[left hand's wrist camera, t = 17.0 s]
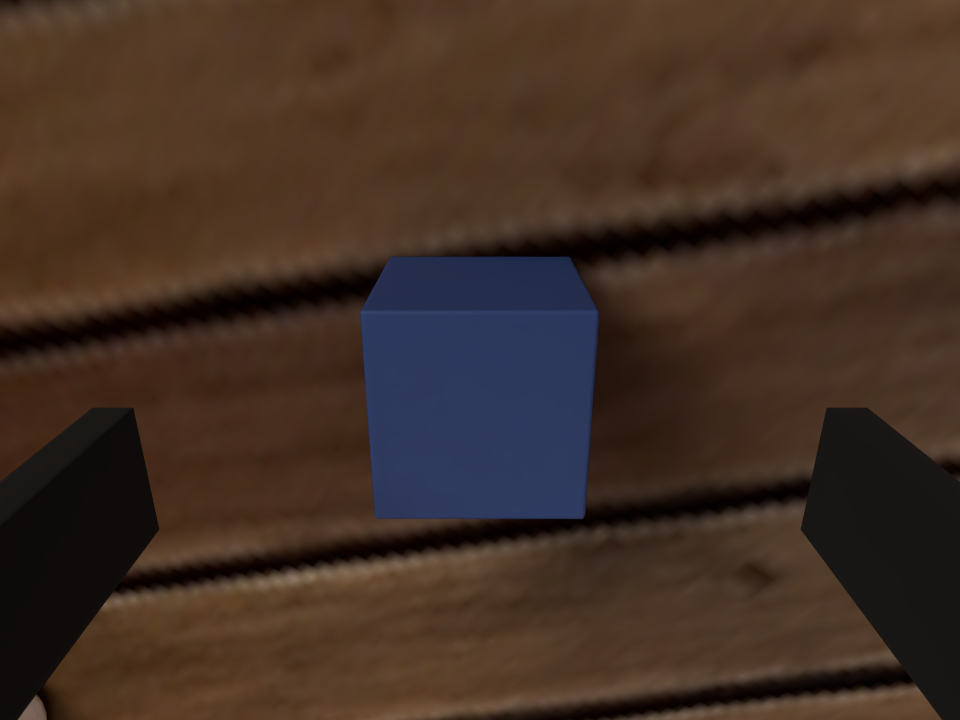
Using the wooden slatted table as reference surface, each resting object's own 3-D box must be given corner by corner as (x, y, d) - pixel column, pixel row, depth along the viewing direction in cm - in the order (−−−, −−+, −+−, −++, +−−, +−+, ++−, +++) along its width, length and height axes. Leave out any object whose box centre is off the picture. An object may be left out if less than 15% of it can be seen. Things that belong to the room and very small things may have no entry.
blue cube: (398, 424, 19) (374, 520, 15) (389, 256, 18) (358, 310, 13) (562, 424, 19) (585, 520, 15) (570, 255, 18) (600, 310, 13)
